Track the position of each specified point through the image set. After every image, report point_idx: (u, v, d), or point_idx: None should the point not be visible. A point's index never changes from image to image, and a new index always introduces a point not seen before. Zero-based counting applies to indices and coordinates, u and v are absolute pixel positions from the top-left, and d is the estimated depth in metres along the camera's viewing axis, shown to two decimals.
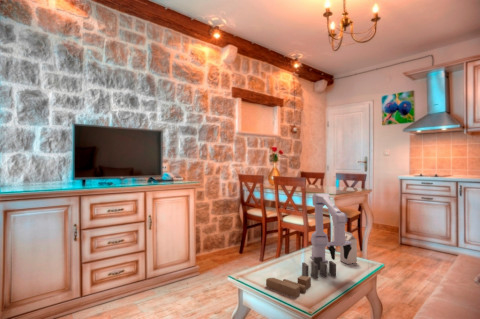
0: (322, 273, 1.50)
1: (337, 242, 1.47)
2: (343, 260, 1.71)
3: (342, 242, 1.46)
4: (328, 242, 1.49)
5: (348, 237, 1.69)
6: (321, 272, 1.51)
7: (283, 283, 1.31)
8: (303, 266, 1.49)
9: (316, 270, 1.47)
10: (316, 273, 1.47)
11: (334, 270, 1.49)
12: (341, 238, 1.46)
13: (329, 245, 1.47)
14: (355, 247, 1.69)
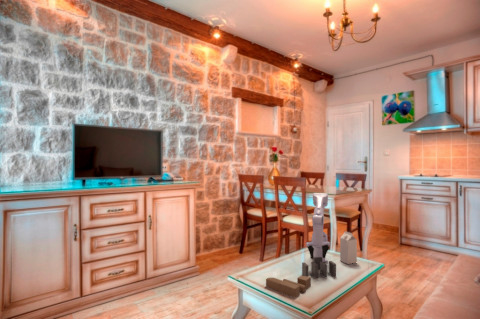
0: (322, 273, 1.50)
1: (315, 242, 1.58)
2: (343, 260, 1.71)
3: (320, 242, 1.57)
4: (307, 242, 1.59)
5: (348, 237, 1.69)
6: (321, 272, 1.51)
7: (283, 283, 1.31)
8: (303, 266, 1.49)
9: (316, 270, 1.47)
10: (316, 273, 1.47)
11: (334, 270, 1.49)
12: (319, 238, 1.57)
13: (308, 245, 1.57)
14: (355, 247, 1.69)
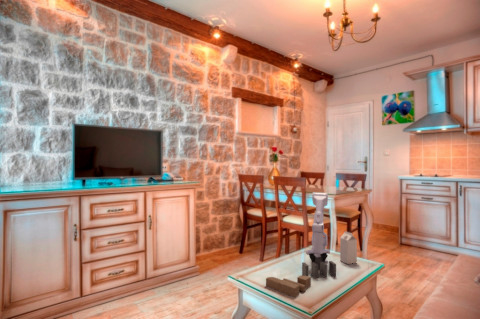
0: (322, 273, 1.50)
1: (315, 250, 1.58)
2: (343, 260, 1.71)
3: (320, 250, 1.57)
4: (307, 250, 1.59)
5: (348, 237, 1.69)
6: (321, 272, 1.51)
7: (283, 282, 1.32)
8: (303, 266, 1.49)
9: (316, 270, 1.47)
10: (316, 273, 1.47)
11: (334, 270, 1.49)
12: (319, 246, 1.57)
13: (308, 253, 1.57)
14: (355, 247, 1.69)
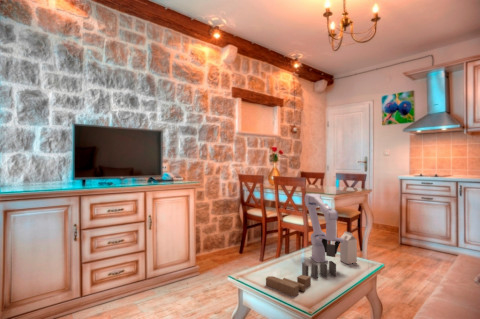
0: (322, 273, 1.50)
1: (326, 236, 1.61)
2: (343, 260, 1.71)
3: (330, 237, 1.59)
4: (321, 235, 1.65)
5: (348, 237, 1.69)
6: (321, 272, 1.51)
7: (282, 282, 1.32)
8: (303, 266, 1.49)
9: (316, 270, 1.47)
10: (316, 273, 1.47)
11: (334, 270, 1.49)
12: (329, 233, 1.59)
13: (319, 237, 1.64)
14: (355, 247, 1.69)
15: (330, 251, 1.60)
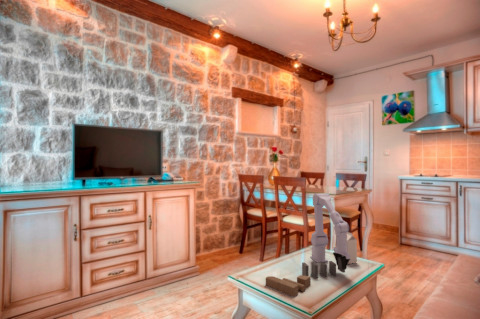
0: (322, 273, 1.50)
1: None
2: None
3: (337, 250, 1.52)
4: None
5: (348, 237, 1.69)
6: (321, 272, 1.51)
7: (282, 282, 1.32)
8: (303, 266, 1.49)
9: (316, 270, 1.47)
10: (316, 273, 1.47)
11: (334, 270, 1.49)
12: (336, 245, 1.52)
13: (333, 249, 1.59)
14: (355, 247, 1.69)
15: (339, 265, 1.52)
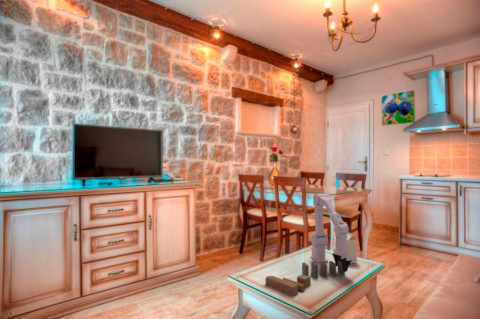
0: (322, 273, 1.50)
1: None
2: None
3: (337, 251, 1.52)
4: None
5: (348, 237, 1.69)
6: (321, 272, 1.51)
7: (282, 281, 1.33)
8: (303, 266, 1.49)
9: (316, 270, 1.47)
10: (316, 273, 1.47)
11: (334, 270, 1.49)
12: (336, 247, 1.52)
13: (333, 250, 1.59)
14: (355, 247, 1.69)
15: (339, 269, 1.52)
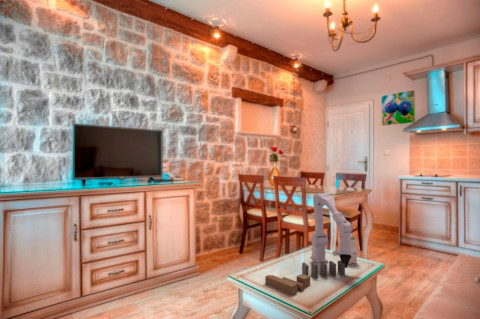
0: (322, 273, 1.50)
1: (343, 251, 1.51)
2: None
3: (348, 251, 1.50)
4: (334, 251, 1.53)
5: None
6: (321, 272, 1.51)
7: (281, 280, 1.34)
8: (303, 266, 1.49)
9: (316, 270, 1.47)
10: (316, 273, 1.47)
11: (334, 270, 1.49)
12: (347, 247, 1.50)
13: (335, 254, 1.51)
14: (355, 247, 1.69)
15: (339, 269, 1.52)
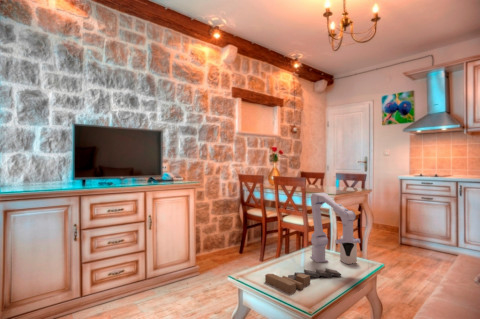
0: None
1: (346, 239, 1.51)
2: (343, 260, 1.71)
3: (350, 239, 1.50)
4: None
5: None
6: None
7: (280, 279, 1.35)
8: None
9: None
10: None
11: (325, 275, 1.47)
12: (349, 235, 1.50)
13: (338, 242, 1.51)
14: (355, 247, 1.69)
15: None
